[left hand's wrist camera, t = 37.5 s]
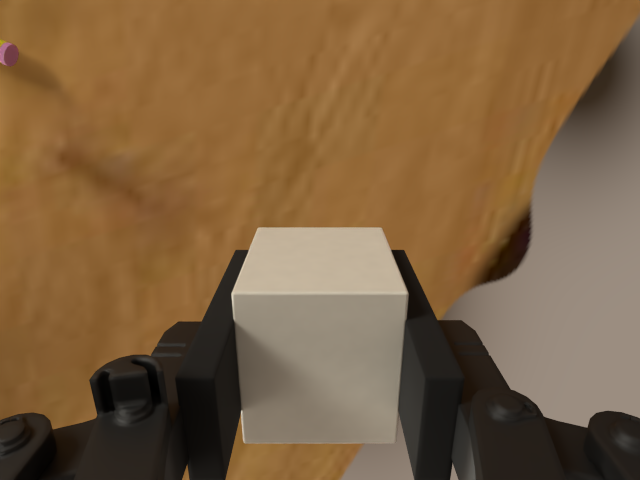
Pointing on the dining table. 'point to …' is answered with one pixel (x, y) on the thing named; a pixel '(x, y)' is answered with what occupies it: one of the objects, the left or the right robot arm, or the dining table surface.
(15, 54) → the pencil
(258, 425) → the block
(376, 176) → the dining table surface
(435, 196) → the dining table surface
